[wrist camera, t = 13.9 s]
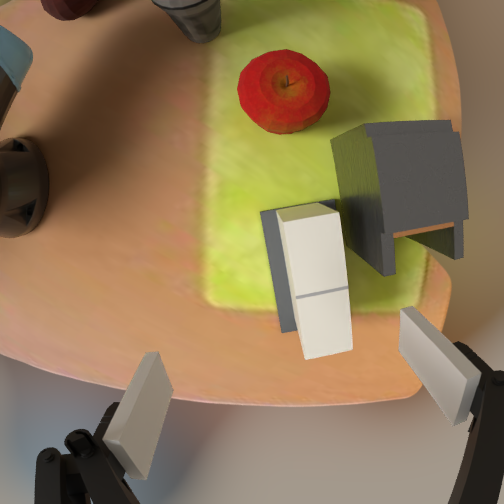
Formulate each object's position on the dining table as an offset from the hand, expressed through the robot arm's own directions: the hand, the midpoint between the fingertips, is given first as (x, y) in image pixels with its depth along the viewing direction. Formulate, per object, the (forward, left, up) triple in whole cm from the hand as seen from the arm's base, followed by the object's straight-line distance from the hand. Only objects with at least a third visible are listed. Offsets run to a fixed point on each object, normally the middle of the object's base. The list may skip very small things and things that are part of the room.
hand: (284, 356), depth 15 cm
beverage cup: (-3, +30, -24) cm, 38 cm away
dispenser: (+14, +5, -23) cm, 28 cm away
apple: (+4, +17, -24) cm, 29 cm away
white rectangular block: (+4, -2, -23) cm, 23 cm away
